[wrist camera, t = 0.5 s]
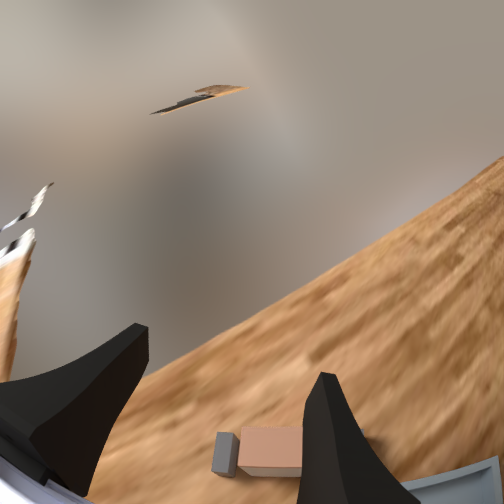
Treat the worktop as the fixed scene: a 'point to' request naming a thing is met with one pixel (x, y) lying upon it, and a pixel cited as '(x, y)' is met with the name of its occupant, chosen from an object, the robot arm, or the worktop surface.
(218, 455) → the grey blocks
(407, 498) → the robot arm
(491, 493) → the tray
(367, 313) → the worktop surface
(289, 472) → the pink and gray block
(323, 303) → the worktop surface
